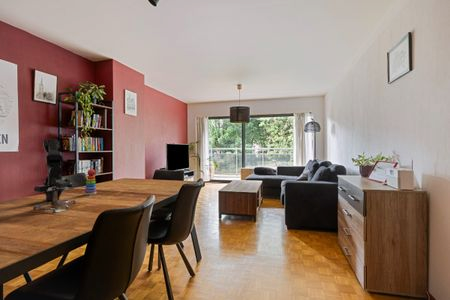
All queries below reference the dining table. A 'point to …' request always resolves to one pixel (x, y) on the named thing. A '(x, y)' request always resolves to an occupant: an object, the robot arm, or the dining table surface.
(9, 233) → the dining table surface
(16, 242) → the dining table surface
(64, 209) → the sage coaster
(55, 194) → the walnut peg
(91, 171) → the stacking toy
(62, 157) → the robot arm
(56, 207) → the rail leg
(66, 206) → the rails leg
